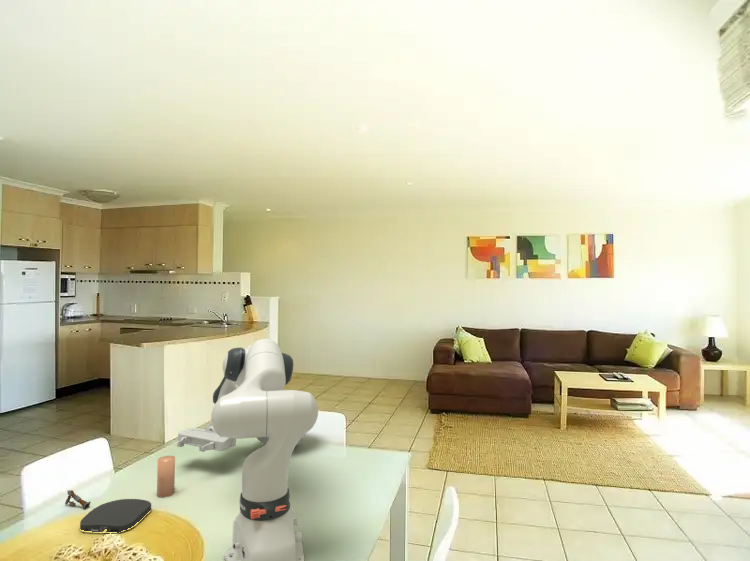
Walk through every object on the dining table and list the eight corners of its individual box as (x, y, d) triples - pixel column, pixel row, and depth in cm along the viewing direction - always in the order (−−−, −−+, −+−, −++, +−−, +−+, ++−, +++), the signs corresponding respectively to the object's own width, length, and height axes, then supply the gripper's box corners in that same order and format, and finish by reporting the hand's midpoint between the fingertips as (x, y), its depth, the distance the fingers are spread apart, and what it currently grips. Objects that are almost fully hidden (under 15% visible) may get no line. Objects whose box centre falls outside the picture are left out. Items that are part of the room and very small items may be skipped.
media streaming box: (156, 508, 130) (156, 498, 130) (127, 535, 116) (127, 524, 116) (107, 507, 131) (107, 497, 131) (72, 534, 116) (73, 523, 116)
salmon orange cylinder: (174, 495, 138) (175, 460, 138) (156, 498, 136) (157, 462, 136) (174, 489, 142) (175, 454, 143) (157, 491, 140) (157, 456, 141)
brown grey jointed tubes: (66, 500, 132) (71, 487, 132) (85, 514, 131) (91, 501, 130) (60, 503, 131) (66, 489, 130) (80, 517, 129) (85, 504, 128)
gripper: (194, 421, 167) (166, 433, 154) (239, 429, 160) (214, 442, 147) (193, 437, 167) (165, 451, 154) (239, 446, 161) (213, 461, 147)
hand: (189, 447), depth 151 cm, fingers open, 8 cm apart
